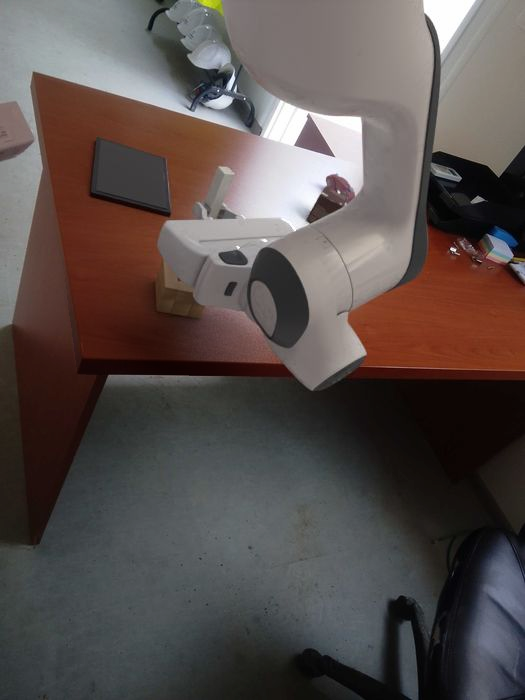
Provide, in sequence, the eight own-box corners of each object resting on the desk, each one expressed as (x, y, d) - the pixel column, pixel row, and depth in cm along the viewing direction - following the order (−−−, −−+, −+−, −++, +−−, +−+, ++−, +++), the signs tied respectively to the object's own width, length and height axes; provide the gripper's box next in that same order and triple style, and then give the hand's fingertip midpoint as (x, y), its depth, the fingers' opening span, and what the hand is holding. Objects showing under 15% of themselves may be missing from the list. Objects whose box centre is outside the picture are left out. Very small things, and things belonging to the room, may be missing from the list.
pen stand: (156, 311, 67) (165, 287, 64) (155, 281, 72) (163, 256, 68) (199, 318, 70) (210, 295, 67) (195, 289, 74) (205, 266, 71)
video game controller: (320, 192, 124) (324, 171, 118) (332, 185, 126) (337, 164, 120) (343, 215, 121) (349, 195, 115) (356, 207, 122) (362, 187, 116)
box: (332, 224, 111) (348, 198, 106) (327, 233, 107) (343, 207, 102) (311, 211, 111) (326, 185, 106) (305, 220, 106) (320, 193, 102)
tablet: (169, 217, 85) (171, 212, 84) (90, 196, 79) (91, 191, 78) (164, 162, 97) (166, 157, 96) (95, 141, 91) (96, 136, 90)
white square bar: (188, 266, 66) (224, 173, 56) (183, 258, 66) (217, 166, 57) (197, 265, 67) (234, 174, 57) (192, 257, 67) (228, 166, 58)
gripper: (330, 251, 60) (273, 187, 66) (203, 264, 47) (144, 183, 52) (308, 285, 64) (256, 223, 70) (186, 306, 51) (133, 227, 57)
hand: (207, 206), depth 61 cm, fingers closed on white square bar, 1 cm apart
